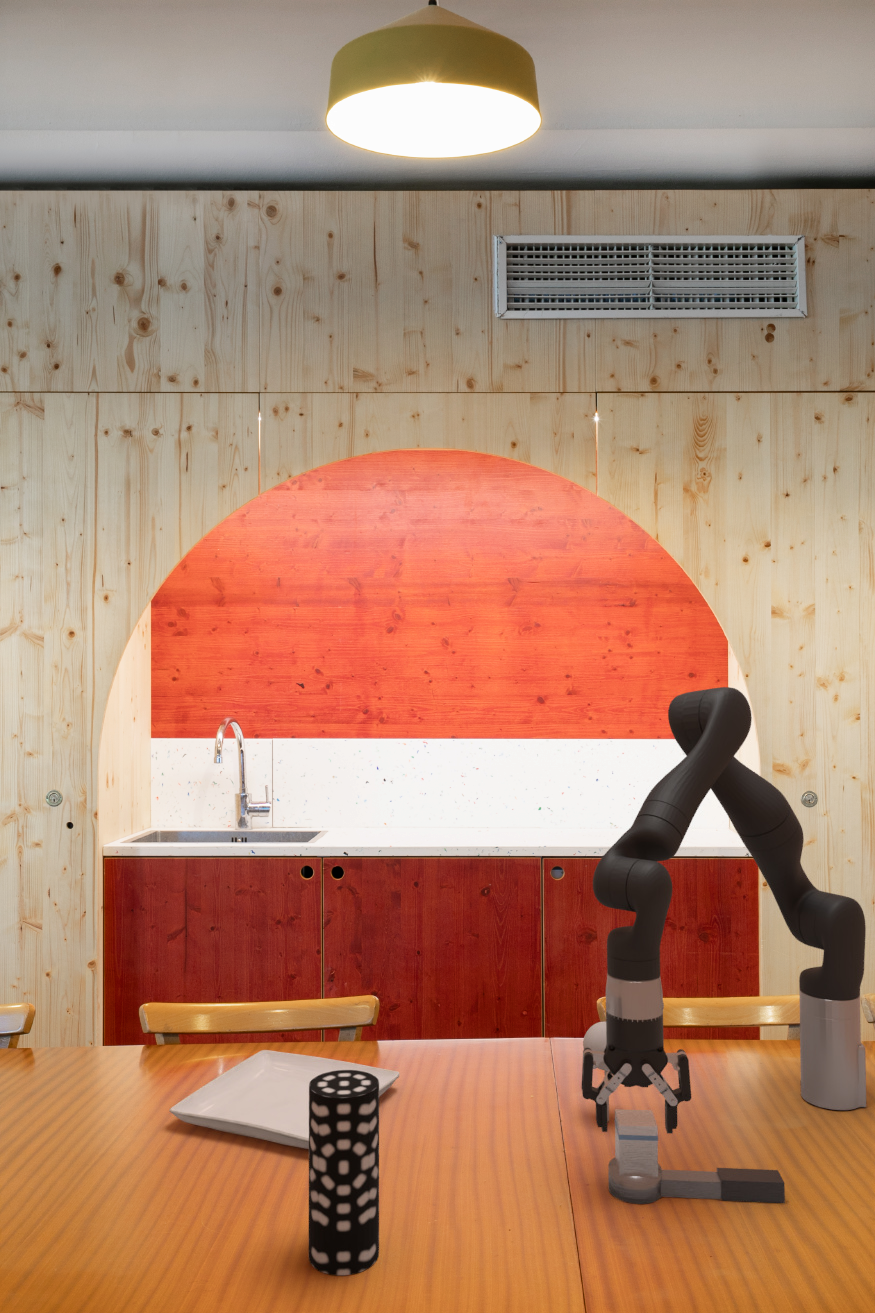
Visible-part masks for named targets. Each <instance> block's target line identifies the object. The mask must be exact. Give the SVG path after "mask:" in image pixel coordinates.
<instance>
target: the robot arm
mask: <svg viewBox="0 0 875 1313" xmlns="http://www.w3.org/2000/svg"><path fill="white" fill-rule="evenodd" d="M668 706H669V707H668V711H667V717H668V724H669V727H670V731H671V733H672V736H673V737H674V739H675V741H676V744H678V746H679V747H680V749H681V751H682V752H683V753H684V755H685V757H684V758H683V759H682V760H681V761H680V762H679V763H678V764H677V765H676V766H674V767H673V768H672V769H671V770H670V771H668V773H667V774H665V775H664V776H663V777H662V778H661V779H660V780H659V781H658V782H657V783H656V784H655V785H654V786H653V788H651V790H650V792H649V793H648V794H647V796H646V798H645V799H644V801H643V803H642V804H641V807H640V809H639V811H638V813H637V815H636V817H635V819H634V820H633V823H632V825H631V826H630V828H628V829H627V831H626V832H624V833H623V834H622V835H621V836H620V837H619V838H618V840H617V841H615V843H614V844H612V846H611V847H609V849H608V850H607V851H606V852H605V853H604V854H603V856H602V857H601V858H600V860H599V861H598V863H597V865H596V867H595V870H594V872H593V877H592V892H593V894H594V897H595V898H596V900H597V902H598V903H599V904H601V905H602V906H605V907H607V908H609V909H610V908H611V909H615V910H621V911H625V912H626V911H628V912H632V913H635V920H634V923H633V925H625V926H619V927H616V928H613V929H612V930H611V931H610V932H608V934H607V937H606V938H607V939H606V967H607V968H606V969H607V970H606V972H607V973H606V985H605V1021H606V1042H607V1044H606V1048H605V1050H604V1052H600V1051H592V1050H591V1049H590V1048H585V1049H584V1048H583V1050H582V1069H581V1092H582V1097H583V1099H584V1100H590V1101H591V1100H592V1101H593V1102H595V1120H596V1125H597V1127H598V1128H601V1132H602V1133H608V1122H607V1102H606V1100H607V1099H608V1097H609V1098H610V1096H611V1095H612V1094H613V1093H615V1091H616V1090H618V1087H619V1086H620V1085H623V1087H624V1088H633V1087H636V1086H637V1087H640V1088H649V1086H651V1085H654V1087H655V1088H656V1090H658V1092H659V1094H661V1095H662V1097H663V1098H664V1126H665V1130H666V1134H669V1135H670V1134H673V1133H674V1132H673V1131H674V1130H676V1129H677V1128H678V1106H679V1104H680V1103H682V1102H690V1101H691V1100H692V1091H691V1090H692V1088H691V1087H692V1086H691V1075H690V1063H689V1062H690V1061H689V1058H688V1056H687V1053H686V1051H685V1050H684V1049H682V1048H681V1049H677V1051H676V1052H666V1051H665V1048H664V1047H665V1046H664V1040H665V1039H664V1007H665V1005H664V1004H665V1003H664V1000H663V999H664V998H663V997H664V995H663V987H662V979H661V977H662V976H661V942H662V938H663V933H664V928H665V923H666V920H667V917H668V916H667V915H668V912H669V908H670V905H671V901H672V897H673V881H672V878H671V874H670V872H669V871H668V869H667V868H666V867H665V866H664V865H663V864H662V863H660V862H663V861H668V860H670V859H672V858H673V857H675V855H676V854H677V852H678V851H679V848H680V847H681V844H682V842H683V840H684V838H685V837H686V834H687V832H688V830H689V827H690V826H691V823H692V822H693V819H694V817H695V815H696V813H697V811H698V809H699V807H700V806H701V805H702V802H703V800H704V799H705V797H706V796H707V794H708V793H709V792H710V790H711V791H712V793H713V794H714V796H715V797H716V799H717V801H718V802H719V804H720V805H721V807H722V808H723V810H724V811H725V813H726V815H727V816H728V818H729V821H731V824H732V826H733V827H734V830H735V831H736V833H737V835H738V836H739V837H740V838H739V839H740V840H741V842H742V843H743V845H744V847H745V848H746V850H747V851H748V853H749V854H750V855H751V857H752V858H753V860H754V862H755V864H756V866H757V867H758V869H759V870H760V873H761V874H762V877H763V878H764V879H765V881H766V883H767V885H768V887H769V888H770V891H771V893H772V895H773V897H774V900H775V902H776V904H777V906H778V908H779V910H780V913H781V916H782V917H783V920H784V922H785V924H786V926H787V928H788V930H789V931H790V933H791V934H792V936H793V938H795V939H796V940H797V941H798V942H800V943H802V944H804V945H806V946H808V947H812V948H815V949H819V950H822V951H823V955H822V956H823V957H822V964H821V966H815V967H814V966H813V967H809V968H805V969H803V970H802V971H801V972H800V973H799V977H798V978H799V980H798V981H799V982H798V984H799V985H798V986H799V989H798V990H799V1040H800V1041H799V1043H800V1044H799V1047H800V1050H799V1051H800V1053H799V1055H800V1058H799V1059H800V1081H799V1082H800V1095H801V1098H803V1100H804V1101H806V1102H807V1103H809V1104H811V1105H814V1106H816V1107H819V1108H823V1109H827V1110H828V1109H829V1110H834V1111H849V1110H855V1109H858V1108H866V1107H867V1077H866V1076H867V1075H866V1074H867V1070H866V1065H867V1063H866V1056H867V1055H866V1046H865V1045H864V1044H863V1042H862V1037H861V1036H862V1033H861V1030H862V1029H861V1026H862V1024H861V1023H862V1022H861V985H862V982H863V980H864V979H863V978H864V975H865V956H866V955H865V954H866V952H865V951H866V933H867V932H866V931H867V930H866V928H867V926H866V919H865V914H864V911H863V908H862V906H861V904H860V903H859V902H858V901H857V900H856V899H855V898H852V897H848V896H846V895H841V894H837V893H836V894H835V893H831V892H827V891H822V890H819V889H818V888H817V887H816V886H814V884H813V883H812V882H811V880H810V878H808V876H807V874H806V872H805V870H804V868H803V866H802V864H801V863H802V862H801V859H802V854H803V848H804V833H803V832H804V830H803V827H802V825H801V822H800V821H799V818H798V817H797V815H796V814H795V811H794V809H793V808H792V806H791V805H790V803H789V801H788V800H787V798H786V797H785V795H784V794H783V793H782V792H781V791H780V790H779V789H778V788H777V787H775V786H774V785H773V784H772V783H771V782H769V781H768V780H766V779H765V778H764V777H762V776H761V775H760V774H758V773H757V772H755V771H753V770H752V769H750V768H749V767H748V766H746V765H745V764H743V762H741V761H740V760H738V759H737V758H736V757H735V756H736V754H737V753H738V751H740V748H741V747H742V746H743V744H744V742H745V741H746V739H747V737H748V735H749V732H750V730H751V726H752V719H753V718H752V710H751V706H750V704H749V701H748V699H747V698H746V696H745V694H743V692H741V691H740V690H739V689H737V688H734V687H729V686H727V687H725V686H723V687H714V688H708V689H701V690H693V691H689V692H684V693H681V694H677V695H676V696H675V697H674V698H673V699H672V700H671V701H670V703H669V705H668ZM601 1061H604V1063H605V1064H606V1066H607V1067H608V1068H609V1071H608V1072H607V1073H606V1075H605V1074H604V1077H603V1079H602V1081H601V1082H600V1083H599V1085H598V1086H597V1087H595V1086H593V1074H594V1073H593V1072H594V1070H596V1069H598V1066H599V1063H600V1062H601ZM668 1063H669V1064H671V1066H672V1069H673V1070H674V1071H676V1072H677V1077H678V1078H677V1079H678V1080H677V1081H678V1088H675V1089H673V1088H672V1087H671V1085H669V1083H668V1082H667V1080H666V1078H665V1077H664V1076H663V1074H662V1072H663V1070H664V1069H665V1068H666V1067H667V1065H668Z"/></svg>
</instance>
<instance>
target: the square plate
mask: <svg viewBox="0 0 875 1313" xmlns="http://www.w3.org/2000/svg"><path fill="white" fill-rule="evenodd" d="M337 1070H358V1071H363V1072H367V1073H370V1074H372V1075H374V1076H375V1077H377V1079H378V1080H379V1098H380V1097H381V1096H382V1095H383V1094H384V1093H386V1092H387V1091H388V1089H390V1087H391V1086H392V1085H393V1084H394V1083H395V1082H396V1080H397V1079H398V1078H400V1074H401V1073H400V1072H399V1071H398V1070H393V1069H392V1070H391V1069H385V1068H381V1067H375V1066H372V1065H366V1064H365V1065H364V1064H362V1063H361V1064H360V1063H356V1062H349V1061H343V1060H339V1059H333V1058H326V1057H320V1056H314V1055H307V1054H306V1055H305V1054H300V1053H290V1052H283V1051H275V1050H269V1049H262V1050H260V1051H258V1052H257V1053H255V1054H252V1055H251V1056H249V1057H248V1058H246V1059H244V1060H243V1061H241V1062H240V1063H238V1064H236V1065H234V1066H233V1067H231V1068H229V1069H228V1070H227V1071H225V1072H223V1073H222V1074H220V1075H218V1076H217V1077H215V1078H214V1079H212V1080H211V1081H209V1082H208V1083H206V1084H204V1085H203V1086H201V1087H200V1088H198V1089H197V1090H195V1091H193V1092H192V1093H191V1094H189V1095H188V1096H186V1097H185V1098H183V1099H182V1100H180V1101H179V1102H178V1103H176V1104H175V1105H173V1106H172V1107H170V1108H169V1112H170V1113H171V1114H172V1115H173V1116H174V1117H175V1118H177V1119H179V1120H180V1121H182V1122H184V1123H186V1124H191V1125H195V1126H200V1127H204V1128H209V1129H212V1130H215V1131H219V1132H225V1133H230V1134H234V1135H240V1136H244V1137H248V1138H255V1139H258V1140H263V1141H264V1140H265V1141H268V1142H273V1143H275V1144H276V1143H277V1144H281V1145H284V1146H285V1145H286V1146H291V1147H296V1148H301V1149H306V1150H309V1083H310V1081H311V1080H312V1079H313V1078H315V1077H316V1076H318V1075H321V1074H323V1073H327V1072H331V1071H337Z"/></svg>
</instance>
